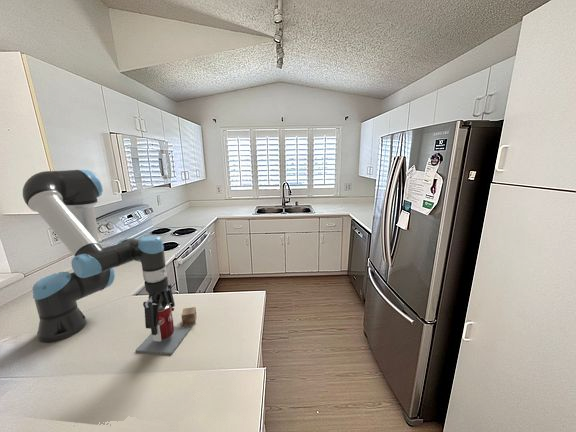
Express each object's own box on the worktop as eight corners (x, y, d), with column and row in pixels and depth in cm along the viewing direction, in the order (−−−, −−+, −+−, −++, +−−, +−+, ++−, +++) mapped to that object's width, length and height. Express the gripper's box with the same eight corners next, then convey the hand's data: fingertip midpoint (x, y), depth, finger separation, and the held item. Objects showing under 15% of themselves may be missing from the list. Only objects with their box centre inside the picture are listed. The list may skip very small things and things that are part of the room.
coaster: (135, 352, 92) (135, 350, 91) (158, 327, 105) (158, 325, 105) (171, 354, 90) (171, 352, 90) (190, 329, 104) (190, 327, 103)
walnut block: (182, 325, 106) (181, 315, 105) (184, 318, 111) (183, 308, 109) (195, 323, 107) (194, 313, 106) (196, 317, 112) (195, 306, 111)
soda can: (169, 326, 102) (165, 299, 99) (178, 333, 98) (174, 305, 95) (150, 335, 97) (145, 307, 94) (158, 344, 92) (154, 314, 89)
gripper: (147, 293, 82) (156, 353, 87) (180, 267, 101) (186, 317, 106) (126, 292, 83) (136, 352, 88) (162, 266, 102) (169, 316, 107)
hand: (163, 333), depth 97 cm, fingers closed on soda can, 7 cm apart
